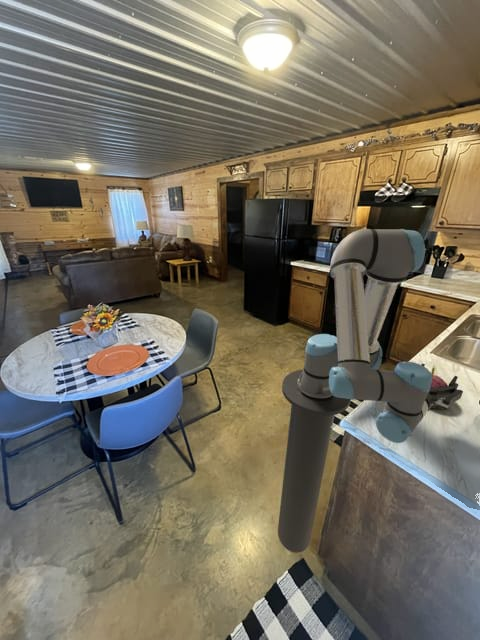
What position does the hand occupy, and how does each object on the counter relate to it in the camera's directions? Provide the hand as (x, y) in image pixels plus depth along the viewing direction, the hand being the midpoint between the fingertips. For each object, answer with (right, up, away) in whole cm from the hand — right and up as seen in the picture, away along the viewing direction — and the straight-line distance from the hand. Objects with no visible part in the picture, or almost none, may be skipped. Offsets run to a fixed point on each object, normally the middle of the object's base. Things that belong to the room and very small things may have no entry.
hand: (438, 373), depth 86 cm
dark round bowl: (+7, -13, +16) cm, 22 cm away
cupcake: (-4, -7, 0) cm, 8 cm away
